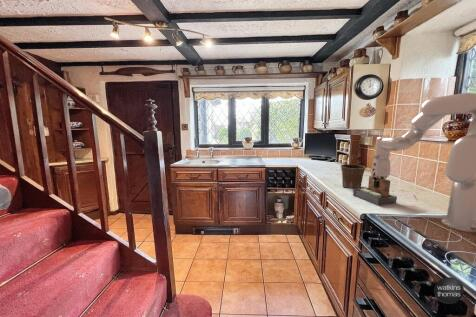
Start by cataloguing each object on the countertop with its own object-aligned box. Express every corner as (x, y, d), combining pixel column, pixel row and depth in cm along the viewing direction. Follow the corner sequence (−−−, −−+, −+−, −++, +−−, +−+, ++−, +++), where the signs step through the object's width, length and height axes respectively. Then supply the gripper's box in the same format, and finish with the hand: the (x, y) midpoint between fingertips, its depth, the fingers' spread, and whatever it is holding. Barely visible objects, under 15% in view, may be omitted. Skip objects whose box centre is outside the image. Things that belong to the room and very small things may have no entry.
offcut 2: (380, 202, 131) (381, 194, 130) (375, 203, 130) (376, 195, 129) (372, 199, 136) (373, 191, 135) (368, 200, 135) (369, 192, 134)
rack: (395, 204, 130) (396, 196, 129) (377, 207, 126) (378, 198, 126) (369, 195, 147) (370, 187, 147) (352, 196, 144) (353, 189, 143)
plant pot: (340, 189, 159) (342, 167, 157) (337, 183, 175) (339, 163, 172) (366, 191, 155) (368, 169, 152) (360, 185, 170) (362, 164, 167)
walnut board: (388, 201, 132) (390, 180, 130) (384, 202, 131) (386, 181, 129) (371, 195, 144) (373, 175, 141) (367, 195, 143) (369, 176, 141)
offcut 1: (371, 199, 137) (372, 191, 136) (366, 199, 136) (367, 191, 135) (364, 196, 142) (364, 188, 141) (359, 196, 141) (360, 189, 140)
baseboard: (395, 207, 128) (422, 211, 122) (396, 202, 128) (422, 206, 122) (390, 192, 154) (412, 195, 149) (391, 188, 154) (412, 191, 148)
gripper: (376, 159, 128) (373, 189, 131) (398, 157, 132) (394, 187, 135) (365, 157, 135) (362, 186, 138) (386, 156, 139) (383, 184, 142)
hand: (378, 186), depth 136 cm, fingers closed on walnut board, 3 cm apart
